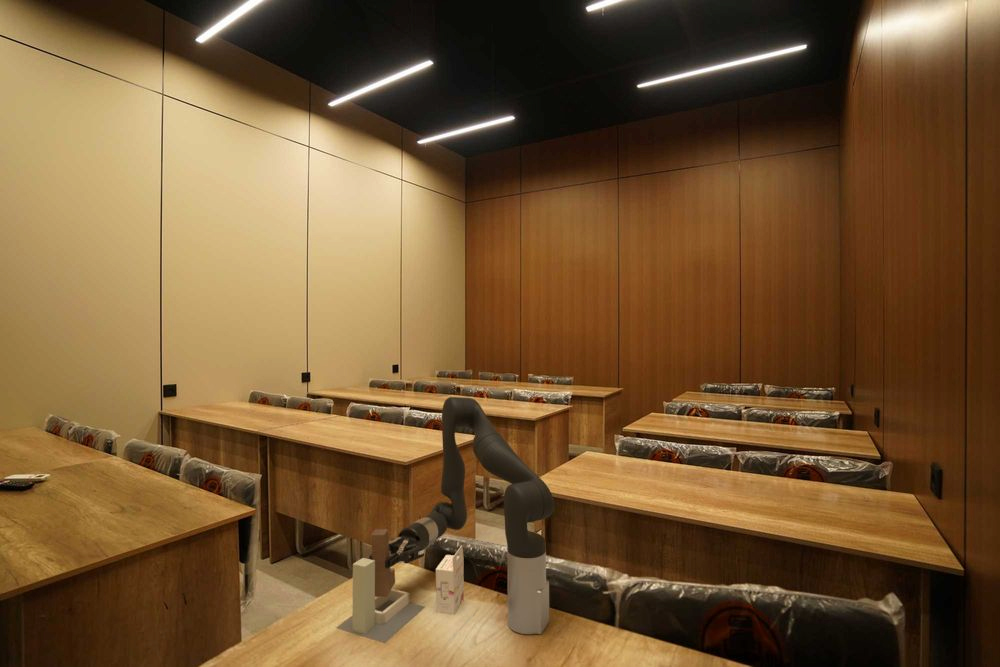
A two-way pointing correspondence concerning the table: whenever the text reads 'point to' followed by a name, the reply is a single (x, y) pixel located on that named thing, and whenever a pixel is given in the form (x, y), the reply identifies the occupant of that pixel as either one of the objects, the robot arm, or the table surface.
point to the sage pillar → (363, 595)
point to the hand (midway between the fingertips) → (378, 562)
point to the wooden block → (382, 563)
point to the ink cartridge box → (450, 583)
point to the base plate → (388, 616)
